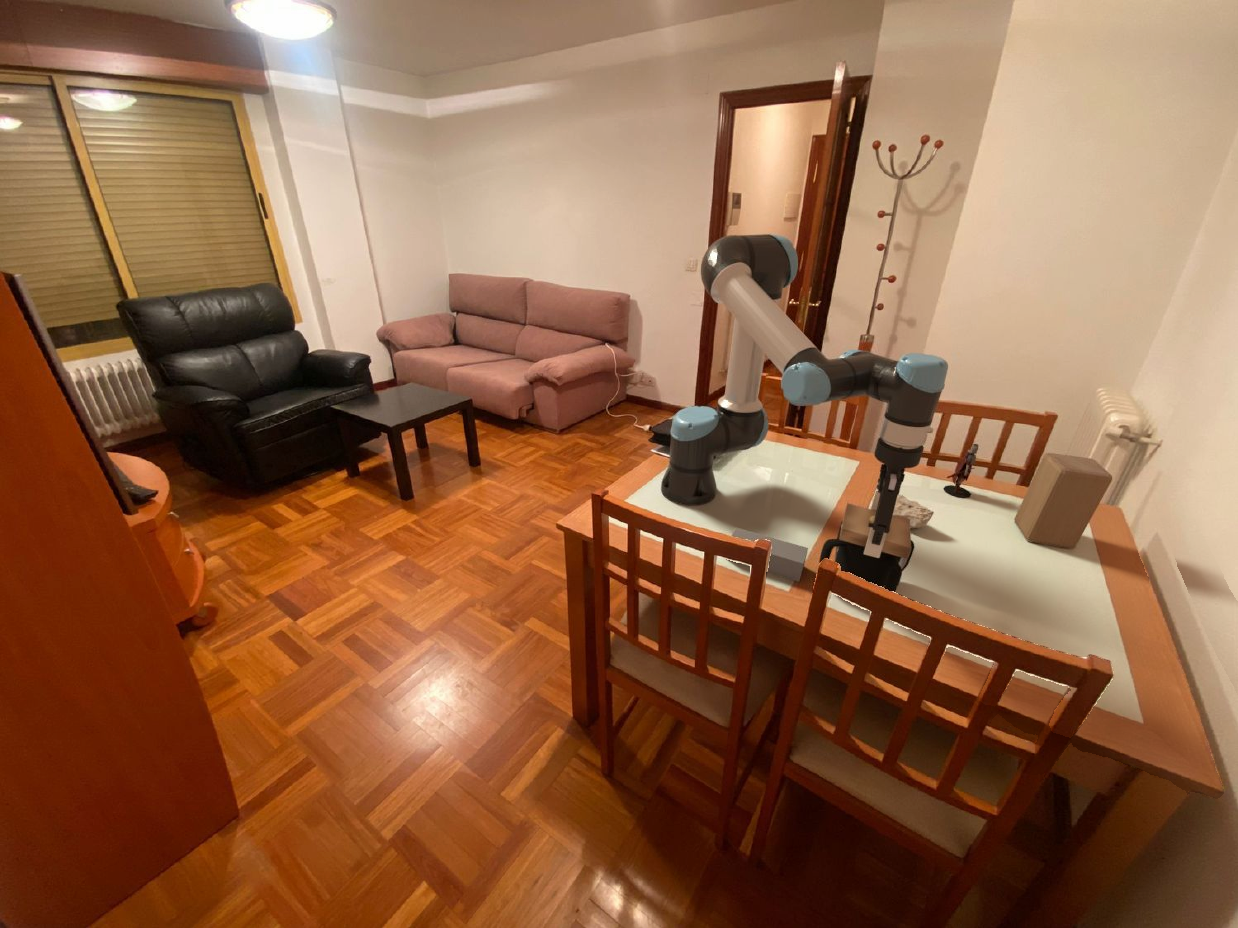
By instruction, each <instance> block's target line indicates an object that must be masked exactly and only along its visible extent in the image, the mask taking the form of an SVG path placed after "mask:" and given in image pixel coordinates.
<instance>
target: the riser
mask: <svg viewBox="0 0 1238 928" xmlns="http://www.w3.org/2000/svg"><path fill="white" fill-rule="evenodd" d="M731 536H733V537H738V538H741V539H748V540H751V541H753V542H754V541H755V540H757V539H767V540H770V541H771V543H772V549H771V556H770V561H769V568H768V572H767V573H768V574H771V575H774V576H778V577H781V578H785V579H788V580H790V581H794V582H797V583H800V580H801V577H802V573H803V570H804V568H805V563H806V560H807V555H808V550H809V548H808V547H807V546H806V547H805V546H802V545H798V544H795V543H792V542H788V541H786V540H785V541H784V540H783V539H782V540H781V539H778V538H774V537H770V536H767V535H765V534H764V535H763V534H760V533H756V532H753V531H750V530H747V529H743V528H739V527H735V529H734V530H733V532H732V533H731Z"/></svg>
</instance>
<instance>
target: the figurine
mask: <svg viewBox="0 0 1238 928" xmlns="http://www.w3.org/2000/svg"><path fill="white" fill-rule="evenodd" d="M978 450H979V444H977V443H973V444H972V446H970V449H967V450H966V451H965V452H964V454H963V455H964V456H963V459H962V461H961V463H960V464H958V465H959V466H958V467H957V469H956V471H955V472H953V474H951V475H948V476H946V478H947V479H950V478H952V483H953V484H954V485H951V484H949V485H945V486H944V487H943V491H944V493H946V494H948V495H949V496H952V497H954V498H955V497H956V498H957V499H958V498H959V499H969V498H970V497H971V496H972V493H971V492H970V491H969V490H968V489H966V488H965V487H962V486H961V485H962V483H963V482H965V481H968V480H969V476H970V474H971V473H972V470H973V469H975V467H973V465H974V464H975V462H976V459H977V455H976V454H978Z"/></svg>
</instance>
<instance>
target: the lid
mask: <svg viewBox="0 0 1238 928" xmlns="http://www.w3.org/2000/svg"><path fill="white" fill-rule="evenodd" d="M875 514H876V510H872V509H871V508H867V507H863V506H860V505H855V504H852V503H848V502H847V503H846V507H845V510H844V514H843V519H842V521H843V523H842V528H841V533H840V538H839V540H843V541H846V542H850V543H853V544H857V545H860V546H864V547H866V543H867V540H868V536H869V533H870V529H871V527H868V524H869V523H871V524H873V523H874V519H875ZM889 529H890V531H889V533H887V534H886V538H885V541H884V544H883V548H882V551H881V552H885V553H888V554H892V555H895V556H899V557H902V558H906V559H907V558H908V555H909V553H910V550H911V540H912V537H911V536H912V535H911V528H910V519H907V518H903V517H899V516H895V515H893V516H892V520H891V524H890V528H889Z"/></svg>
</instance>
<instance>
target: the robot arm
mask: <svg viewBox="0 0 1238 928" xmlns="http://www.w3.org/2000/svg"><path fill="white" fill-rule="evenodd" d="M798 265H799V259H798V253H797V250H796V248H795V247H794V244H793V243H792V241H791V240H790V239H789V238H788V237H785V236H783V235H778V234H771V233H769V234H766V233H765V234H744V235H743V234H742V235H741V234H740V235H739V234H738V235H737V234H735V235H734V234H733V235H731V234H730V235H726V236H722V237H720V238H719V239H717V240H715V241H714V242H712V243H711V245H710V246H708V248H707V249H706V251H705V252H704V254H703V257H702V260H701V263H700V278H701V282H702V284H703V287H704V290H705V291H706V292H707V294H708V295H709V297H711V299H712V300H713V301H714V302H715V303H717V304H720V305H724V306H725V308H727V310H728V311H729V312H730V313H731V314H732V316H733V317H734V322H733V329H732V339H731V344H730V352H729V358H728V359H729V360H728V368H727V374H726V375H727V376H726V383H725V388H724V389H725V390H724V391H725V392H724V395H723V396H721V397H720V398H718V401H717V406H716V407H717V409H716V410H715V408H712V407H710V406H705V405H704V406H703V405H701V406H698V405H694V406H689V407H685V408H683V409H680V410H678V411H677V412H676V413H675V414H674V416H673V418H672V423H671V428H670V446H669V447H670V448H669V462H668V463H669V464H668V466H667V469H666V470H665V473H664V475H663V477H662V479H661V484H660V485H661V486H660V490H661V493H662V495H663V496H664V497H665V498H666V499H668V500H669V501H672V502H673V503H676V504H679V505H683V506H700V505H704V504H705V505H706V504H707V503H710V502H711V501H713V500H714V499H715V497H716V495H717V483H716V482H717V481H716V479H715V474H714V470H713V465H714V458H715V456H719V455H723V454H730V453H733V452H738V451H746V450H747V451H748V450H749V449H751V448H755V447H757V446H759V445H760V444H762V443H763V441H765V439H766V437H767V435H768V433H769V432H768V431H769V419H767V417H768V414H767V411H765V409H764V408H763V403H762V402H761V401H760V399H759V393H760V387H761V381H762V374H763V369H764V364H765V363H764V362H765V356H767V358H768V359H769V360H770V361H771V363H772V364H773V365H774V366H775V367H776V368H777V369H778V372H780V373H781V375H782V376H781V380H780V387H781V390H782V391H783V396H784V399H785V400H786V401H787V402H788V403H790V404H791V405H793V406H797V407H801V406H802V407H805V406H817V405H820V404H823V403H829V402H833V401H839V400H846V399H850V398H856V397H857V398H858V397H862V396H863V397H864V396H865V397H869V398H871V399H874V400H876V401H880V402H882V403H886V407H885V408H886V409H885V413H884V416H883V419H882V422H881V426H880V430H879V432H878V433H879V437H878V438H877V441H876V445H875V449H874V453H873V454H874V457H875V459H876V460H877V461H878V462H880V463H881V465H880V469H879V472H880V473H879V477H878V479H877V483H878V484H877V485H876V490H875V492H874V497H873V498H874V499H873V498H872V500H873V502H872V504H871V508H870V509H872V510H876V514H875V519H874V523H873V524H871V523H869V524H868V527H871V529H870V533H869V536H868V540H867V543H866V547H865V550H864V554H865V555H869V556H873V557H876V558H879V557H880V554H881V551H882V548H883V544H884V541H885V538H886V534H887V533H889V531H890V529H889V528H890V524H891V520H892V516H893V512H894V508H895V504H896V499H897V496H898V494H899V495H900V491H901V486H902V484H903V482H904V481H905V480H904V479H905V476H906V474H905V470H906V469H912V468H916V467H917V466H918V465H919V464H920V462H921V459H922V455H923V452H924V449H925V447H924V445H925V444H926V442H927V438H928V434H933V433H934V428H933V427H931V425H932V423H933V420H934V416H935V412H936V410H937V406H938V403H939V400H940V398H941V395H942V393H943V390H944V389H945V382H946V378H947V374H948V370H949V364H948V361H947V360H945V359H944V358H942V357H940V356H938V355H937V356H936V355H934V354H933V355H932V354H927V353H920V352H914V353H913V352H911V353H905V354H903V355H901V357H900V358H899V360H895V359H892V358H889V357H886V356H882V355H880V354H876V353H873V352H870V351H868V350H861V349H855V348H854V349H848V350H845V352H844V353H843V354H841V355H839V356H838V357H837V358H831V359H829V358H827V357H826V356H825V355H824V354H823V353H822V352H821V351H820V349H818V347H817V346H816V345H815V344H814V343H813V342H812V341H811V340H810V339H809V338H808V337H807V336H806V335H805V334H804V333H803V332H802V330H801V329H800V328H799V327H798V326H797V325H796V324H795V323H794V322H793V320H791V318H790V317H789V316H788V315H787V314H786V313H785V311H784V310H783V309H782V308H780V307H779V306H778V304H777V303H779V301H780V300H781V299H782V295H783V290H784V288H787V287H788V286H790V285H791V284H792V282H793V281H794V280H795V278H796V276H797V274H798V273H797V272H798V269H799V266H798Z"/></svg>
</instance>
